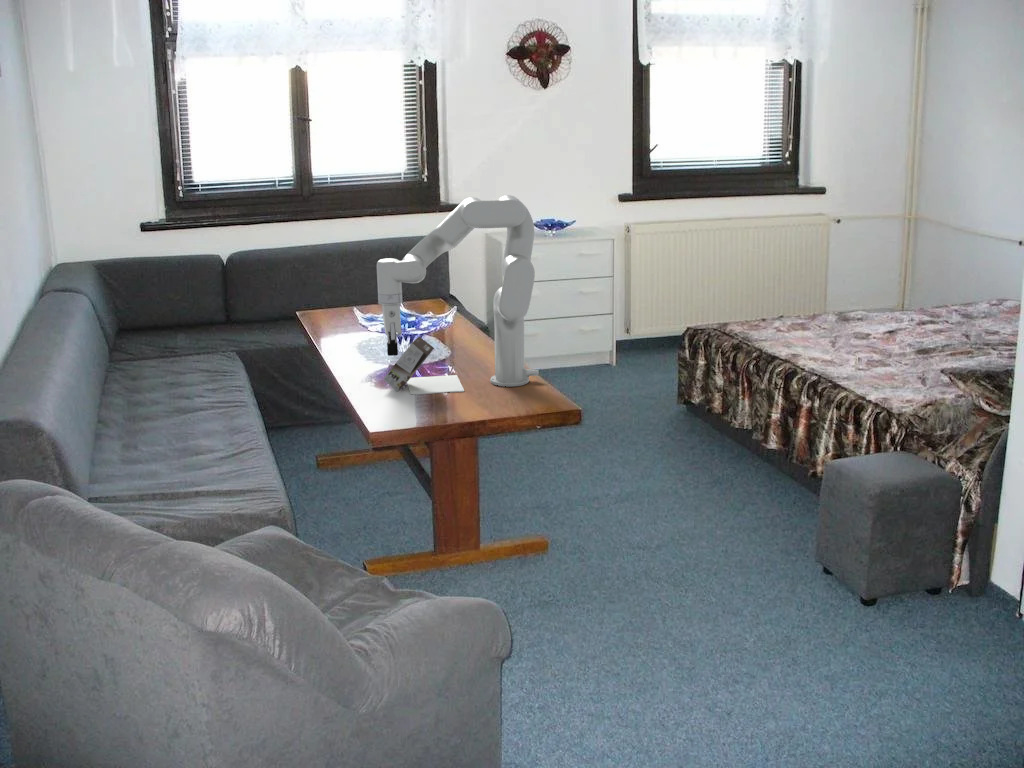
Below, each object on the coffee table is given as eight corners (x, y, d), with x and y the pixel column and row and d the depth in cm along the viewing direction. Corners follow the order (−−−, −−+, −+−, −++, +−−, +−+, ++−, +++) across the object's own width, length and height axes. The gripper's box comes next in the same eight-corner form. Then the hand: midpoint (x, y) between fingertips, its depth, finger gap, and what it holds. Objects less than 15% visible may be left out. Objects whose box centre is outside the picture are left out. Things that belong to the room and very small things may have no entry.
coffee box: (397, 392, 350) (427, 355, 345) (382, 379, 350) (411, 342, 345) (406, 384, 359) (435, 348, 353) (390, 371, 359) (419, 335, 353)
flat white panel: (456, 376, 367) (456, 375, 367) (464, 391, 350) (464, 390, 350) (405, 379, 365) (405, 377, 364) (410, 394, 348) (410, 393, 348)
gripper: (404, 302, 341) (406, 360, 346) (400, 293, 355) (402, 348, 360) (379, 304, 339) (382, 361, 345) (376, 294, 353) (379, 349, 359)
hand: (392, 354), depth 352 cm, fingers closed
